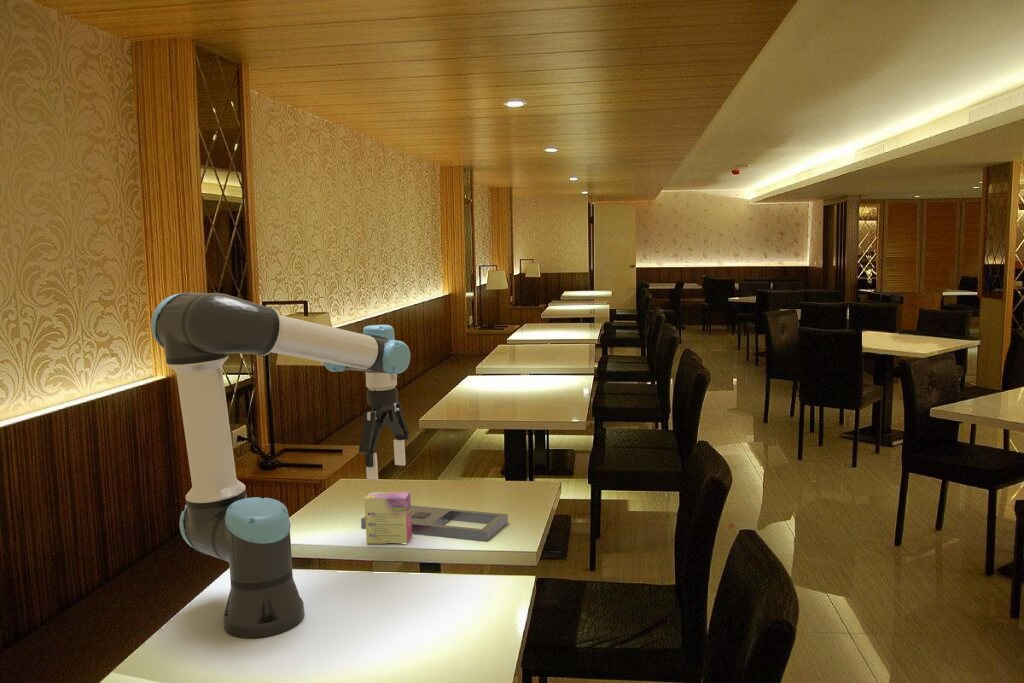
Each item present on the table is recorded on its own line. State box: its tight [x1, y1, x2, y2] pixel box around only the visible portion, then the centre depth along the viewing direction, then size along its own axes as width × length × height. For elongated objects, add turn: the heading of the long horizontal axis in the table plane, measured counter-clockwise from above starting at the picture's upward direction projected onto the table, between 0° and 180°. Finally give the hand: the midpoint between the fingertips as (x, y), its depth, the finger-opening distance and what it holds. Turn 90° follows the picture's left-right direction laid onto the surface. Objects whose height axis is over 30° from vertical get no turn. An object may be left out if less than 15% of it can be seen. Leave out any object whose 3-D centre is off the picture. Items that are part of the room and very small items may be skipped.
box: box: [364, 491, 413, 545], centre depth 200 cm, size 10×6×12 cm, turn 84°
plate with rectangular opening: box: [360, 504, 509, 542], centre depth 210 cm, size 14×36×3 cm, turn 69°
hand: (386, 472), depth 199 cm, fingers open, 13 cm apart
